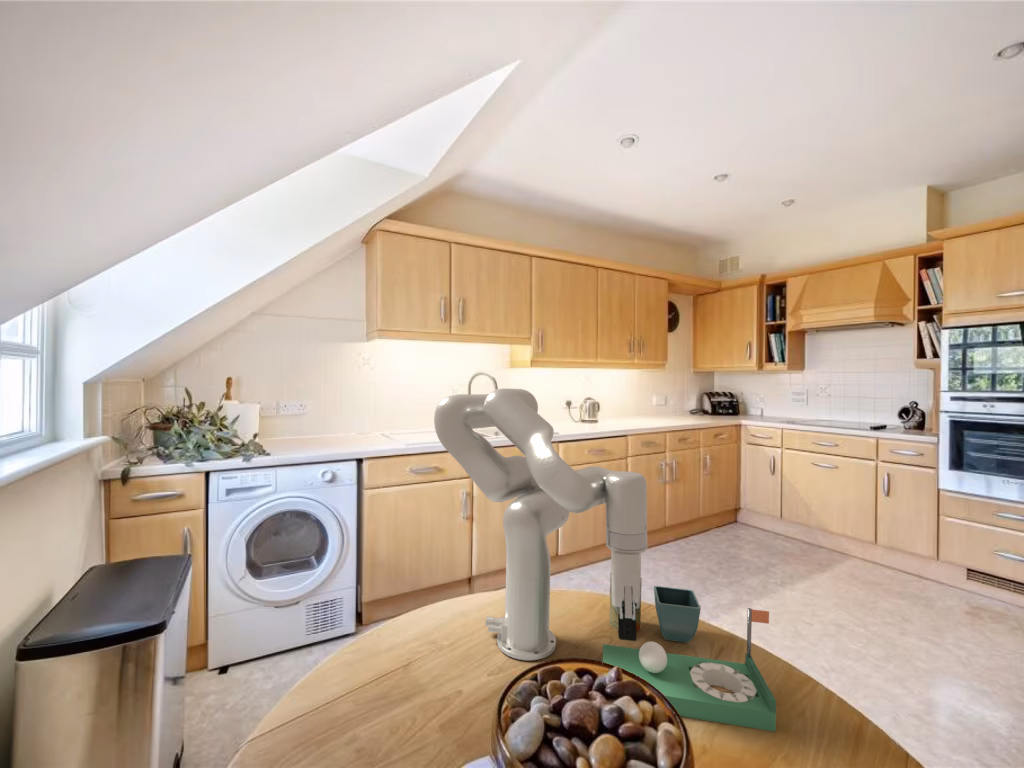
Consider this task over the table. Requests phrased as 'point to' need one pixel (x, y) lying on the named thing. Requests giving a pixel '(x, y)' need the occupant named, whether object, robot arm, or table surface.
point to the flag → (754, 617)
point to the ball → (653, 657)
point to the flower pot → (677, 613)
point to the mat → (706, 687)
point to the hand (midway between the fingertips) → (627, 637)
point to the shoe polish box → (615, 611)
